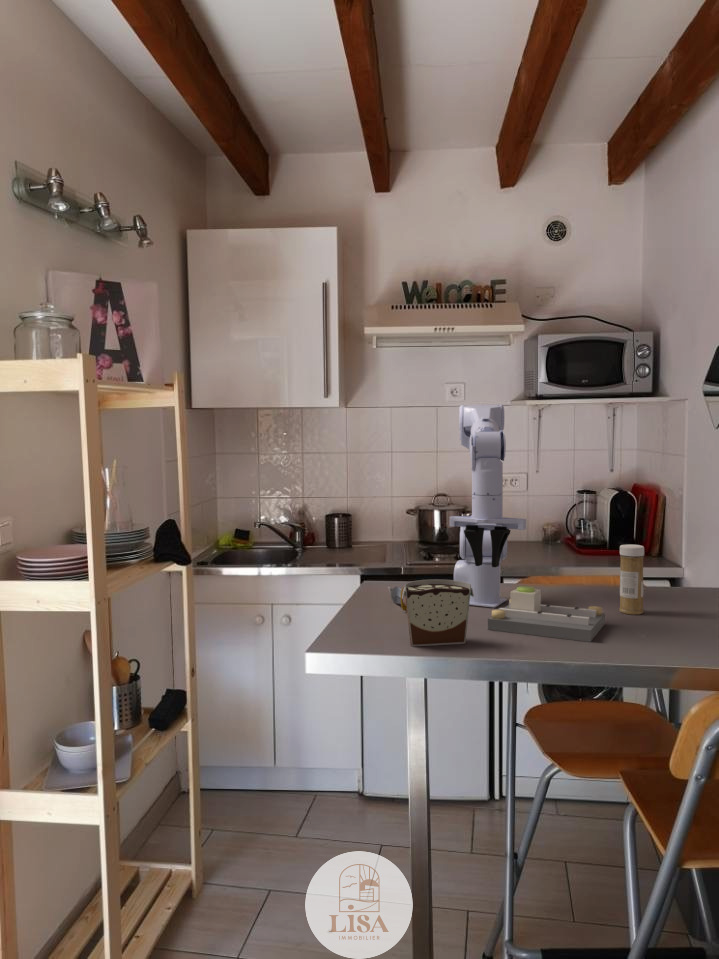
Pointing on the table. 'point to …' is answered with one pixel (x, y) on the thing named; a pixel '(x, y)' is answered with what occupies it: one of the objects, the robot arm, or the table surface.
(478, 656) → the table surface
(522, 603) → the block
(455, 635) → the food container
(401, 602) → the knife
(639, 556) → the sprinkles bottle
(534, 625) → the levelling base
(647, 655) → the table surface
